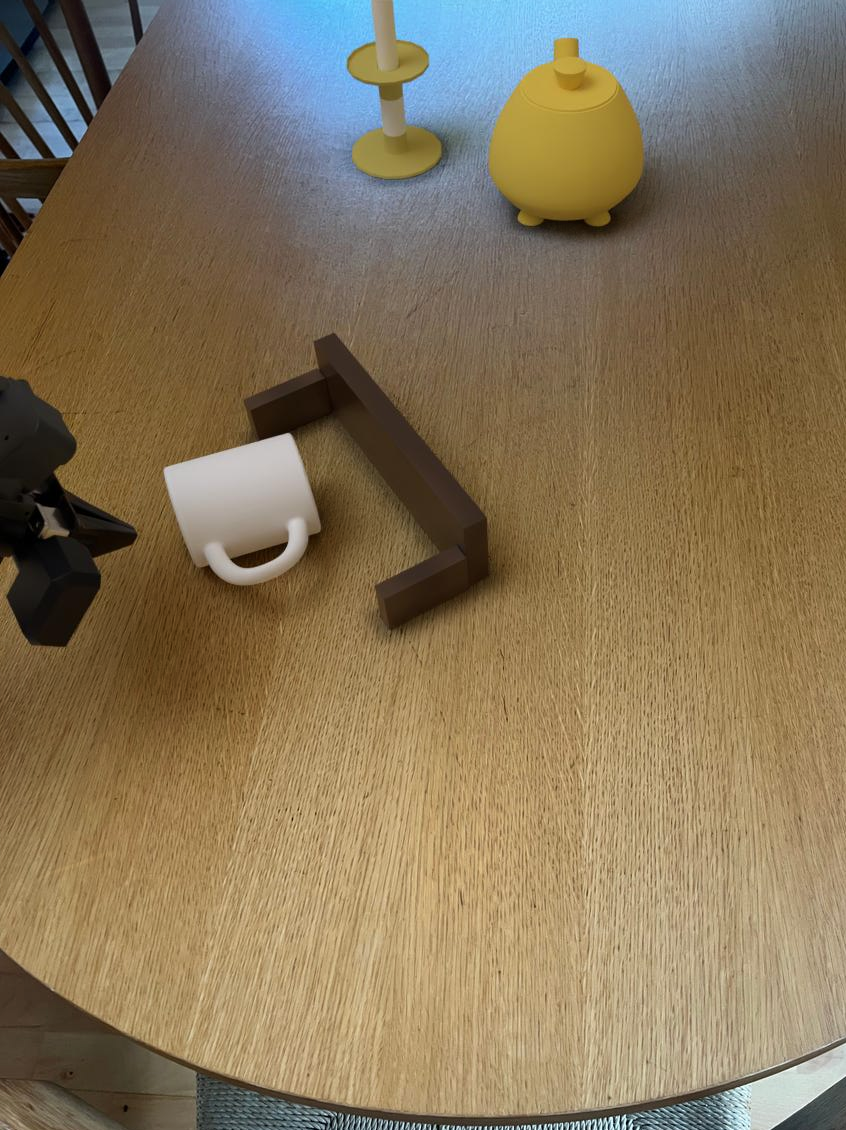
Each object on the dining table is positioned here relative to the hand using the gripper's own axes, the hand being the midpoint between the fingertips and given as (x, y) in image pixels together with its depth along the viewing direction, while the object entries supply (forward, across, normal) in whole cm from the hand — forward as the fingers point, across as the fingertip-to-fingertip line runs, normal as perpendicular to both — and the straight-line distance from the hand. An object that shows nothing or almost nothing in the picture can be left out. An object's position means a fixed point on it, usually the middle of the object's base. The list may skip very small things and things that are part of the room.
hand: (133, 536), depth 72 cm
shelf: (+18, 0, -7) cm, 19 cm away
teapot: (+45, +27, -34) cm, 63 cm away
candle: (+37, +42, -26) cm, 62 cm away
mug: (+11, 0, 0) cm, 11 cm away
